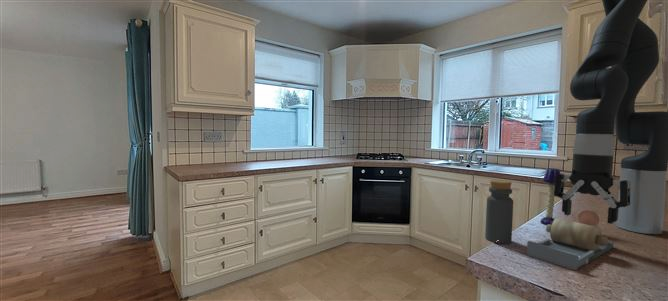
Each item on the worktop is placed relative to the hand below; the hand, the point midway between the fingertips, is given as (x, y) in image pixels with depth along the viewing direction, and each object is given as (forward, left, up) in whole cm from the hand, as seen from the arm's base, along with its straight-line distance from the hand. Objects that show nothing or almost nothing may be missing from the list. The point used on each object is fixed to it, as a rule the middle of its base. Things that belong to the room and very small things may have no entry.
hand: (587, 218), depth 76 cm
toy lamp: (-10, -12, -6) cm, 17 cm away
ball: (0, 0, -2) cm, 2 cm away
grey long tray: (+9, 0, -6) cm, 11 cm away
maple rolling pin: (+8, 0, -6) cm, 10 cm away
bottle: (+17, -13, -6) cm, 22 cm away
